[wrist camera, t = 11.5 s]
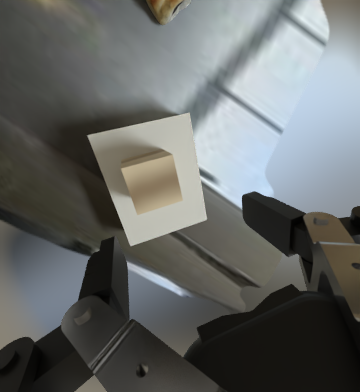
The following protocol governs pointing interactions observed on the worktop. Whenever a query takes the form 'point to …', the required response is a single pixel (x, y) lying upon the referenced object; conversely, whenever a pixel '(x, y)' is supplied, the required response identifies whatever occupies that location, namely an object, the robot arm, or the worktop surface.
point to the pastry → (166, 9)
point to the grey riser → (141, 144)
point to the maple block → (151, 180)
